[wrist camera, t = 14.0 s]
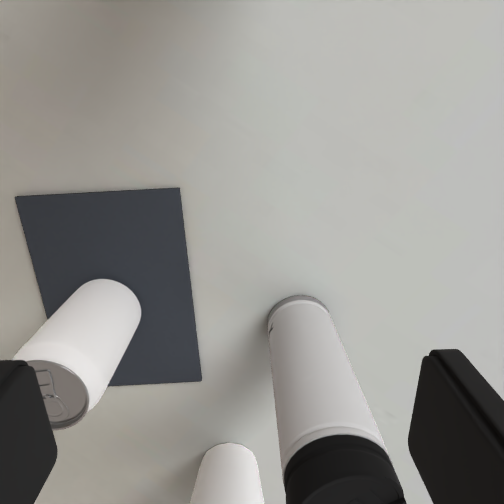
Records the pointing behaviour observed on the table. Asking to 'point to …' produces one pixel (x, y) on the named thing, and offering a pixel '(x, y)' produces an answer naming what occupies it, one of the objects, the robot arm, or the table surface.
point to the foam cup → (228, 477)
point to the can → (81, 348)
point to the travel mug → (324, 414)
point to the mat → (121, 270)
